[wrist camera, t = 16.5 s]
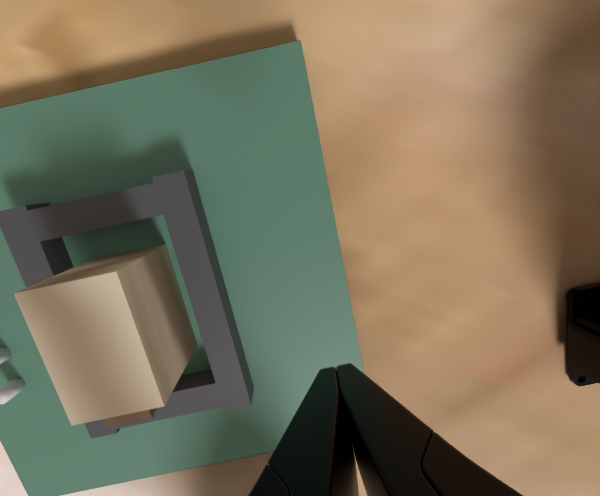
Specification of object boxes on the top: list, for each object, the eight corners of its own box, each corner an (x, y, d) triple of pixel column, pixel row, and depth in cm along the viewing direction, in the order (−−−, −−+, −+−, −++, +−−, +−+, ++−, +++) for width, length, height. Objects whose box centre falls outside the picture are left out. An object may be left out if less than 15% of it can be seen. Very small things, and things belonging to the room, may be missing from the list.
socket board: (300, 48, 16) (301, 26, 14) (371, 418, 21) (381, 450, 19) (-125, 144, 16) (-197, 139, 14) (42, 486, 21) (11, 526, 19)
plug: (165, 243, 17) (116, 271, 12) (201, 357, 19) (170, 422, 14) (91, 259, 17) (13, 293, 12) (133, 371, 19) (78, 441, 14)
